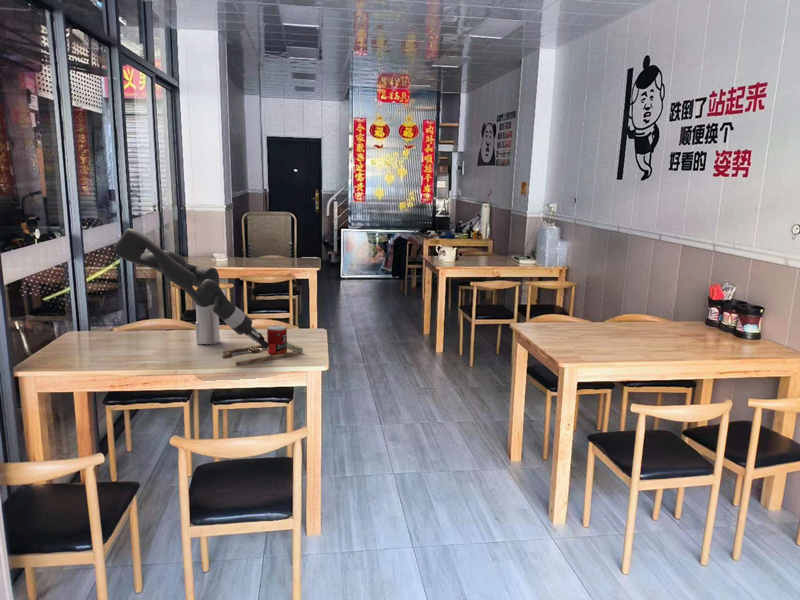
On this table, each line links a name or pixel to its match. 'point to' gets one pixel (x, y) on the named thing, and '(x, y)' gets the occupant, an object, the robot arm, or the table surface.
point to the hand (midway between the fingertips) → (267, 346)
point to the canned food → (277, 339)
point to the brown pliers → (255, 349)
